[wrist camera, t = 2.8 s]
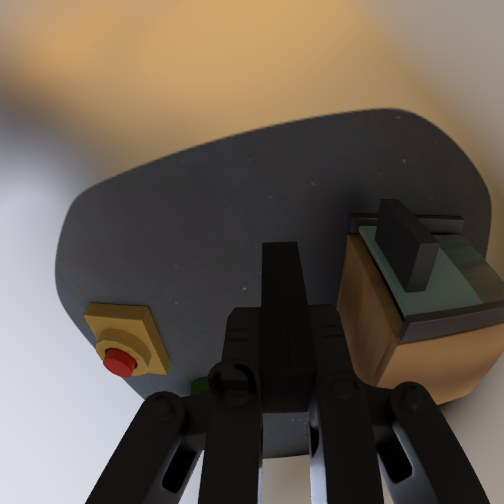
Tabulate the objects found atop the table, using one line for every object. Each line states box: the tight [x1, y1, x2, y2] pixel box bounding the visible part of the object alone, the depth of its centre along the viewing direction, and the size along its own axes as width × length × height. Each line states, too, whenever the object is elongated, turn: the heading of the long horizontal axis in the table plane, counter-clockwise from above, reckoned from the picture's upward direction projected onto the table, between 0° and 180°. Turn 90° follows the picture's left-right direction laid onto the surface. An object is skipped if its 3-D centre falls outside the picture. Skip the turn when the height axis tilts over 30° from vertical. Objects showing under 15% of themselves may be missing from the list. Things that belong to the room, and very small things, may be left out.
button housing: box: [83, 303, 171, 376], centre depth 29 cm, size 10×8×4 cm
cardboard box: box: [336, 214, 504, 405], centre depth 19 cm, size 12×12×12 cm
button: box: [103, 347, 136, 377], centre depth 27 cm, size 4×4×2 cm
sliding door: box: [359, 199, 483, 317], centre depth 16 cm, size 4×6×10 cm, turn 93°
